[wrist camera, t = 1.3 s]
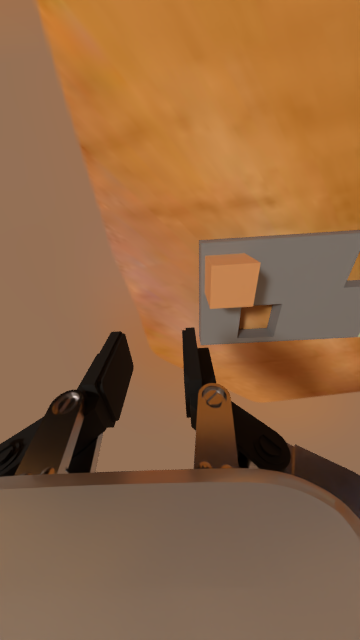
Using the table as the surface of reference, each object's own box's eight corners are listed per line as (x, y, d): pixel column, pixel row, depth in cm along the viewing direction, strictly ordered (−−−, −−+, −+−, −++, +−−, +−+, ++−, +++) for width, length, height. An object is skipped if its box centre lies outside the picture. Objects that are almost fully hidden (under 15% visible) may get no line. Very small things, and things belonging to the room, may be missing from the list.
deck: (444, 224, 23) (490, 226, 20) (379, 326, 31) (404, 340, 28) (199, 240, 24) (202, 245, 20) (199, 336, 32) (201, 350, 29)
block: (244, 253, 22) (260, 262, 18) (240, 290, 25) (253, 306, 21) (205, 255, 22) (211, 265, 18) (204, 292, 25) (210, 308, 21)
